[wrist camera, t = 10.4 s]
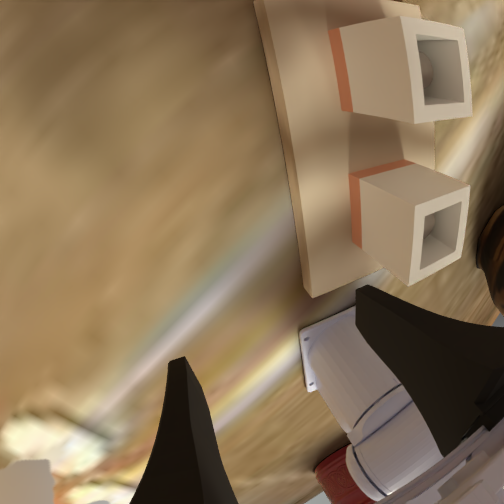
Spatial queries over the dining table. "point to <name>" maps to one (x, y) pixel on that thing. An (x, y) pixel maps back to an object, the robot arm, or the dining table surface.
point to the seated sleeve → (408, 217)
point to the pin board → (331, 131)
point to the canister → (340, 480)
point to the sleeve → (402, 69)
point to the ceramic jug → (493, 257)
